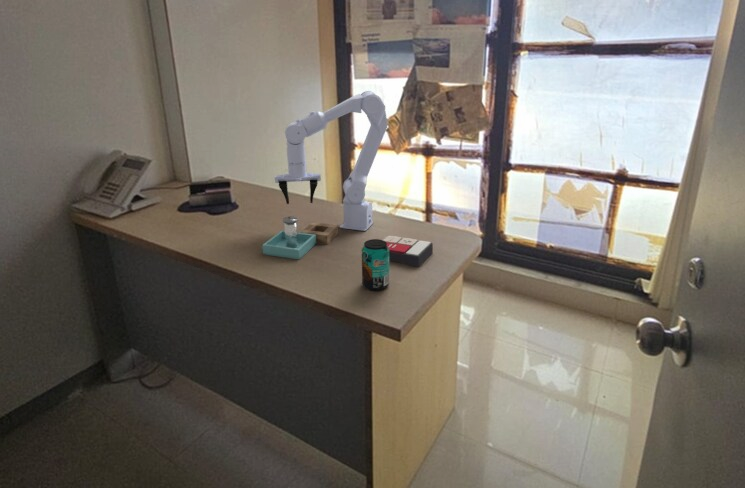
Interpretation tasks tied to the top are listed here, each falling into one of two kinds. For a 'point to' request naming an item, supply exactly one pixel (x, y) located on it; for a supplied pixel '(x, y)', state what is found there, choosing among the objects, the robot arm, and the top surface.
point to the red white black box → (408, 250)
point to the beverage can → (375, 265)
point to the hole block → (322, 232)
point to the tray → (278, 247)
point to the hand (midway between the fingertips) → (299, 202)
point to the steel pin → (291, 231)
